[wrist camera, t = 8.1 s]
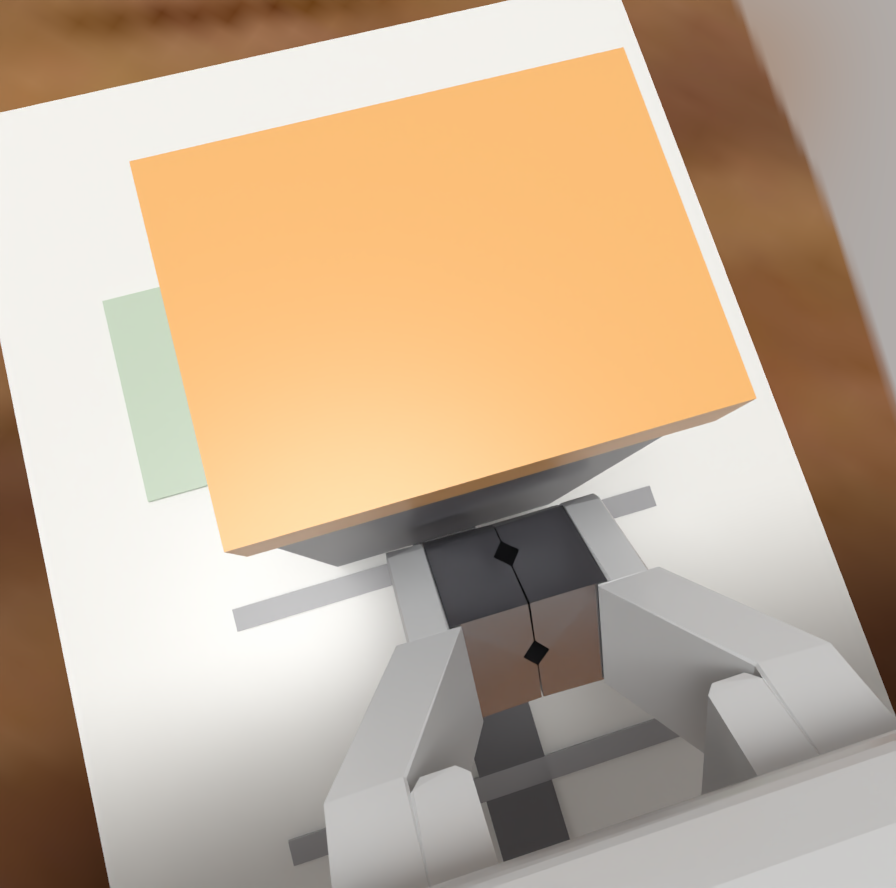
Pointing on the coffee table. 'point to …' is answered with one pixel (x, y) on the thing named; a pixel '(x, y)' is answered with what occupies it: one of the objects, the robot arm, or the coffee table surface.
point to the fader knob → (433, 308)
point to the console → (297, 577)
